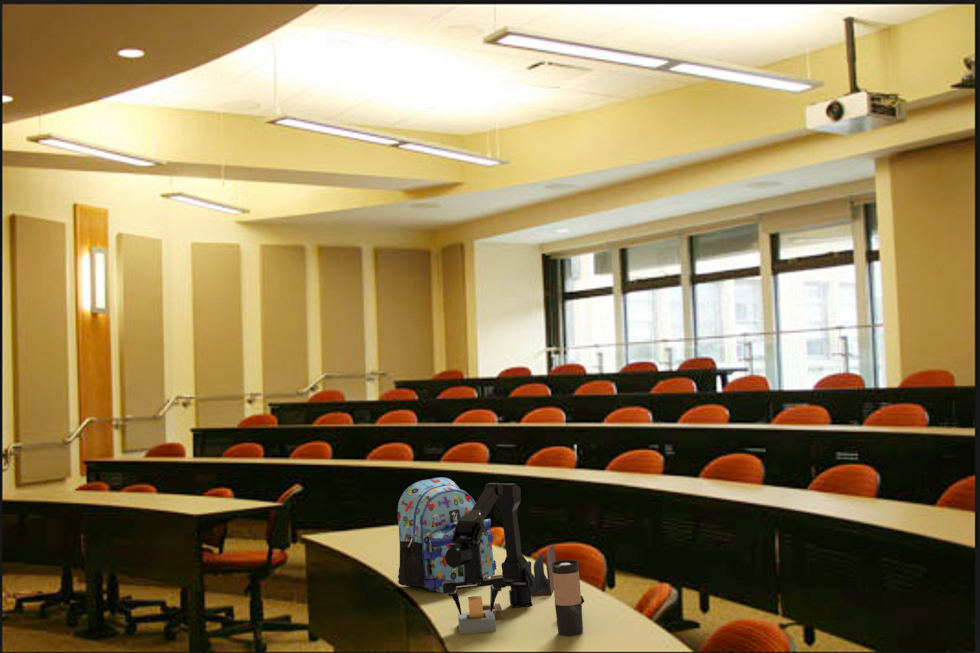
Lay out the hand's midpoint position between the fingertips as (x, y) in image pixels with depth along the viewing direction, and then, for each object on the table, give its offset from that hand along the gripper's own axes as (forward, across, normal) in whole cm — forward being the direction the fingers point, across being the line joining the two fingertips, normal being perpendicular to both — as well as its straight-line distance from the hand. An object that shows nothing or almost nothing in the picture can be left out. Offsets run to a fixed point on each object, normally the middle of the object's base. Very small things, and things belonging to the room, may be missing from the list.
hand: (476, 612), depth 303 cm
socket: (+4, 0, 0) cm, 4 cm away
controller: (+5, -29, +1) cm, 29 cm away
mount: (+4, -4, -13) cm, 14 cm away
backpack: (+5, +6, -66) cm, 66 cm away
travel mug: (+5, -26, +15) cm, 30 cm away
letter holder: (+5, -25, -43) cm, 50 cm away
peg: (+4, 0, 0) cm, 4 cm away
